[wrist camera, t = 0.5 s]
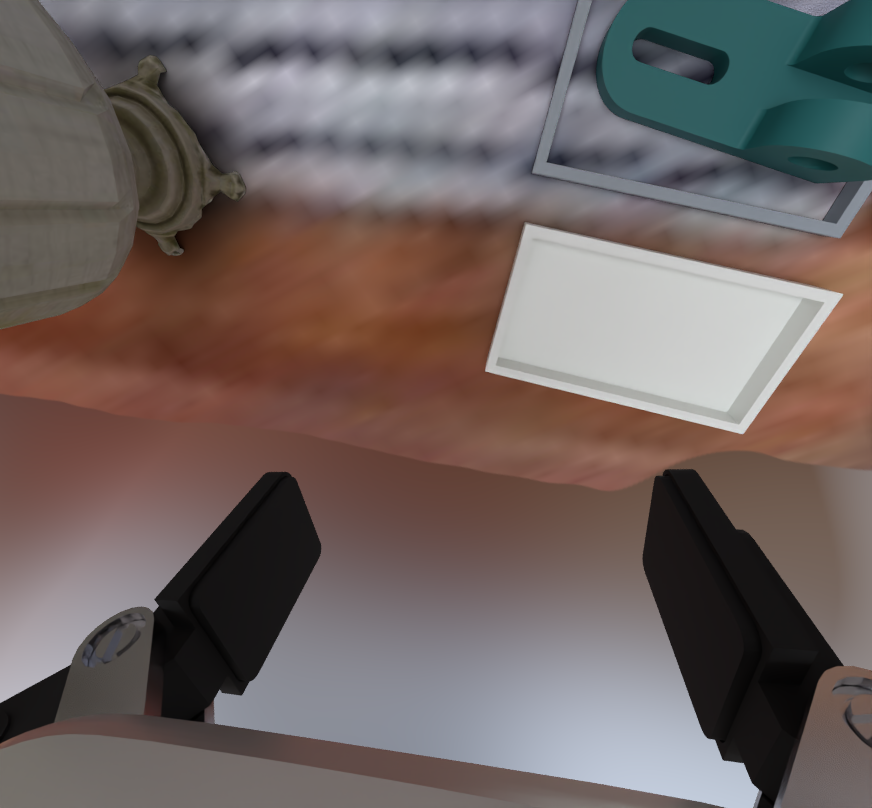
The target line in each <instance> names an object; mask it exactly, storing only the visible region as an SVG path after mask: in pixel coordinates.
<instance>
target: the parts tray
mask: <svg viewBox="0 0 872 808" xmlns="http://www.w3.org/2000/svg"><path fill="white" fill-rule="evenodd" d="M842 296H843V294H841V293H838V292H834V291H831V290H827V289H824V288H820V287H817V286H813V285H808V284H804V283H799V282H795V281H790V280H786V279H781V278H777V277H772V276H768V275H763V274H759V273H754V272H750V271H745V270H741V269H736V268H731V267H727V266H722V265H718V264H713V263H709V262H704V261H700V260H695V259H691V258H686V257H682V256H677V255H673V254H668V253H664V252H659V251H655V250H650V249H646V248H641V247H636V246H632V245H627V244H623V243H618V242H614V241H609V240H605V239H600V238H596V237H591V236H587V235H582V234H578V233H573V232H569V231H564V230H560V229H555V228H550V227H546V226H541V225H537V224H532V223H528V222H525V223H524V226H523V230H522V233H521V237H520V241H519V244H518V248H517V251H516V255H515V259H514V262H513V266H512V270H511V273H510V277H509V280H508V284H507V288H506V291H505V295H504V298H503V302H502V306H501V309H500V313H499V317H498V320H497V324H496V327H495V331H494V335H493V338H492V342H491V346H490V349H489V353H488V356H487V361H486V368H485V371H486V372H490V373H494V374H498V375H502V376H506V377H510V378H514V379H519V380H523V381H527V382H531V383H535V384H539V385H543V386H547V387H551V388H556V389H560V390H564V391H568V392H572V393H576V394H580V395H584V396H588V397H592V398H597V399H601V400H605V401H609V402H613V403H617V404H621V405H625V406H629V407H633V408H638V409H642V410H646V411H650V412H654V413H658V414H662V415H666V416H670V417H675V418H679V419H683V420H687V421H691V422H695V423H699V424H703V425H707V426H711V427H716V428H720V429H724V430H728V431H732V432H736V433H740V434H744V432H745V431H746V429H747V428H748V427H749V425H750V424H751V422H752V421H753V420H754V418H755V417H756V415H757V414H758V413H759V411H760V410H761V409H762V407H763V406H764V404H765V403H766V402H767V400H768V399H769V397H770V396H771V395H772V393H773V392H774V390H775V389H776V388H777V386H778V385H779V383H780V382H781V381H782V379H783V378H784V377H785V375H786V374H787V372H788V371H789V370H790V368H791V367H792V365H793V364H794V363H795V361H796V360H797V358H798V357H799V356H800V354H801V353H802V351H803V350H804V349H805V347H806V346H807V345H808V343H809V342H810V340H811V339H812V338H813V336H814V335H815V333H816V332H817V331H818V329H819V328H820V326H821V325H822V324H823V322H824V321H825V319H826V318H827V317H828V315H829V314H830V313H831V311H832V310H833V308H834V307H835V306H836V304H837V303H838V301H839V300H840V299H841V297H842Z"/></svg>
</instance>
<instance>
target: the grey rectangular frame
mask: <svg viewBox="0 0 872 808" xmlns="http://www.w3.org/2000/svg"><path fill="white" fill-rule="evenodd" d="M591 2H592V0H578V2H577V6H576V10H575V13H574V17H573V21H572V25H571V28H570V32H569V36H568V39H567V43H566V47H565V51H564V54H563V58H562V62H561V65H560V69H559V73H558V77H557V80H556V84H555V88H554V91H553V95H552V99H551V103H550V106H549V110H548V114H547V117H546V121H545V125H544V129H543V132H542V136H541V140H540V143H539V147H538V151H537V155H536V158H535V162H534V166H533V170H532V173H531V174H536V175H540V176H545V177H550V178H554V179H559V180H564V181H568V182H573V183H578V184H583V185H587V186H592V187H597V188H601V189H606V190H611V191H615V192H620V193H625V194H629V195H634V196H639V197H643V198H648V199H653V200H657V201H662V202H667V203H671V204H676V205H681V206H685V207H690V208H695V209H699V210H704V211H709V212H713V213H718V214H723V215H727V216H732V217H737V218H741V219H746V220H751V221H755V222H760V223H765V224H770V225H774V226H779V227H784V228H788V229H793V230H798V231H802V232H807V233H812V234H816V235H821V236H826V237H834V238H841V236H842V235H843V233H844V232H845V230H846V229H847V227H848V226H849V224H850V223H851V221H852V220H853V218H854V217H855V215H856V214H857V212H858V211H859V209H860V208H861V206H862V205H863V203H864V202H865V200H866V199H867V197H868V196H869V194H870V193H871V191H872V180H869V181H853V182H847V183H846V185H845V186H844V188H843V189H842V191H841V193H840V194H839V196H838V197H837V199H836V201H835V202H834V204H833V205H832V207H831V208H830V210H829V212H828V213H827V215H826V216H825V218H824V220H823V221H821V220H816V219H811V218H807V217H802V216H797V215H792V214H788V213H783V212H778V211H773V210H769V209H764V208H759V207H755V206H750V205H745V204H740V203H736V202H731V201H726V200H722V199H717V198H712V197H707V196H703V195H698V194H693V193H689V192H684V191H679V190H674V189H670V188H665V187H660V186H655V185H651V184H646V183H641V182H637V181H632V180H627V179H622V178H618V177H613V176H608V175H604V174H599V173H594V172H589V171H585V170H580V169H575V168H571V167H566V166H561V165H556V164H552V163H547V158H548V155H549V151H550V148H551V144H552V141H553V137H554V134H555V130H556V126H557V123H558V119H559V116H560V112H561V109H562V105H563V102H564V98H565V95H566V91H567V88H568V84H569V80H570V77H571V73H572V70H573V66H574V63H575V59H576V56H577V52H578V49H579V45H580V41H581V38H582V34H583V31H584V27H585V24H586V20H587V17H588V13H589V10H590V6H591Z"/></svg>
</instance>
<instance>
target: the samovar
mask: <svg viewBox="0 0 872 808" xmlns="http://www.w3.org/2000/svg"><path fill="white" fill-rule="evenodd" d="M163 72H167V71H166V70H165V68H164V66H163V65H162V63H161V61H160V60H159V59H158V58H157V57H156V56H152V55H149V56H147V57H145V58H144V59H142V60H140V61H139V64H138V75H137V76H135V77H133V78H131V79H129V80H126V81H124V82H122V83H119V84H117V85H114V86H112V87H110V88H107V89H104V90H103V88H102V87H101V85H100V84H99V82H98V81H97V79H96V78H95V76H94V75H93V73H92V72H91V70H90V69H89V67H88V66H87V64H86V63H85V61H84V60H83V58H82V57H81V55H80V54H79V52H78V51H77V49H76V48H75V46H74V45H73V43H72V42H71V41H70V39H69V38H68V37H67V36H66V34H65V33H64V32H63V31H62V29H61V28H60V27H59V26H58V24H57V23H56V22H55V21H54V20H53V18H52V17H51V16H50V15H49V13H48V12H47V11H46V10H45V8H44V7H43V6H42V5H41V3H40V2H39V1H38V0H0V329H3V328H7V327H12V326H16V325H20V324H24V323H28V322H32V321H36V320H41V319H45V318H49V317H53V316H57V315H61V314H63V313H66V312H68V311H71V310H73V309H75V308H78V307H80V306H82V305H84V304H85V303H87V302H89V301H90V300H92V299H93V298H95V297H97V296H98V295H100V294H101V293H103V292H104V290H105V289H106V288H107V287H108V286H109V285H110V284H111V283H112V282H113V281H114V279H115V278H116V277H117V276H118V274H119V272H120V270H121V268H122V266H123V265H124V263H125V261H126V258H127V256H128V254H129V252H130V250H131V248H132V246H133V241H134V235H135V229H136V227H138V228H140V229H141V230H144V231H145V232H146V233H147V234H149V235H151V236H153V237H154V238H155V239H156V240H157V241H158V245H159V246H160V248H161V250H162V251H163V252H165V253H166V254H168V255H169V256H170V255H174V256H177V255H181V254H182V253H183V252H184V250H183V249H181V248H180V247H179V245H178V243H177V241H176V239H175V237H174V236H175V235H176V233H177V231H182V230H187V229H191V228H192V227H193V225H194V224H195V223H196V222H197V221H198V220H199V219H200V218H201V217H202V208H203V207H204V206H205V205H207V204H208V203H210V202H211V201H212V199H213V197H214V196H216V195H217V194H219V193H220V192H222V193H224V194H225V195H227V196H228V197H230V198H231V199H233V200H235V201H237V202H238V201H239V200H240V199H241V197H242V196H243V195H244V194H245V193H246V187H245V185H244V182H243V180H242V178H241V176H240V174H238V173H237V172H236V171H234V172H232V173H221V172H220V171H219V170H218V169H217V168H215V167H214V166H213V165H212V164H211V162H210V160H209V158H208V157H207V155H206V154H205V152H204V151H203V149H202V147H201V146H200V144H199V142H198V140H197V137H196V134H195V133H194V132H193V131H192V129H191V128H190V127H189V126H188V124H187V123H186V122H185V120H184V119H183V118H182V116H181V115H180V114H179V112H178V111H177V110H175V109H174V108H173V107H171V106H170V105H169V104H168V103H167V101H166V100H165V98H164V96H163V95H162V93H161V91H160V89H159V88H158V86H157V83H158V80H159V76H160V73H163Z"/></svg>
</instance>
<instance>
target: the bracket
mask: <svg viewBox="0 0 872 808" xmlns="http://www.w3.org/2000/svg"><path fill="white" fill-rule="evenodd" d="M637 39H645V40H648V41H651V42H654V43H656V44H659V45H662V46H665V47H668V48H671V49H674V50H677V51H680V52H683V53H686V54H689V55H692V56H695V57H698V58H701V59H704V60H707V61H709V62H711V63H712V64H713V66H714V77H713V79H712V81H711V83H710V84H709V85H707V84H703V83H700V82H698V81H695V80H692V79H689V78H686V77H683V76H680V75H677V74H674V73H671V72H668V71H665V70H662V69H659V68H656V67H653V66H650V65H647V64H644V63H641V62H638V61H637V60H636V59H635V58H634V57H633V54H632V45H633V42H634V41H635V40H637ZM596 80H597V87H598V90H599V94H600V96H601V98H602V100H603V102H604V104H605V105H606V106H607V108H608V109H609V110H610V111H611V112H613V113H614V114H615V115H617V116H619V117H621V118H624V119H627V120H630V121H633V122H636V123H639V124H642V125H645V126H648V127H650V128H653V129H656V130H659V131H662V132H665V133H668V134H671V135H674V136H677V137H680V138H683V139H686V140H689V141H692V142H695V143H698V144H701V145H704V146H707V147H710V148H713V149H716V150H719V151H722V152H725V153H728V154H731V155H733V156H736V157H739V158H742V159H745V160H748V161H751V162H754V163H757V164H760V165H763V166H766V167H769V168H772V169H775V170H778V171H781V172H784V173H787V174H790V175H793V176H796V177H799V178H802V179H805V180H808V181H811V182H814V183H831V182H853V181H869V180H872V0H849V1H848V2H846V3H844V4H842V5H841V6H839V7H837V8H836V9H834V10H832V11H830V12H829V13H827V14H825V15H823V16H812V15H809V14H806V13H803V12H800V11H797V10H794V9H791V8H788V7H785V6H782V5H779V4H776V3H773V2H770V1H767V0H628V1H627V2H626V3H625V4H624V6H623V7H622V8H621V10H620V11H619V13H618V14H617V16H616V18H615V19H614V21H613V23H612V24H611V26H610V28H609V30H608V31H607V33H606V35H605V37H604V39H603V42H602V45H601V47H600V51H599V55H598V59H597V67H596Z"/></svg>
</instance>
